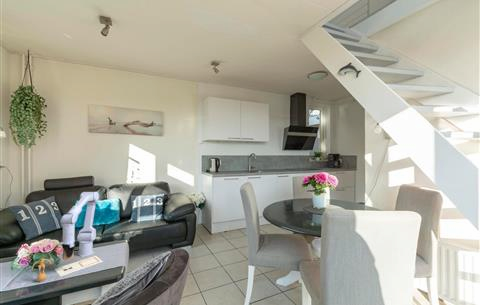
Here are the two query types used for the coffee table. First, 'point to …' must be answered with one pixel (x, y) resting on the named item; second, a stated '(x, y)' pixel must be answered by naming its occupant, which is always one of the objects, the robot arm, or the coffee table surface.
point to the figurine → (41, 275)
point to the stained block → (66, 255)
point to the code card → (78, 265)
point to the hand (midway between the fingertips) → (68, 255)
